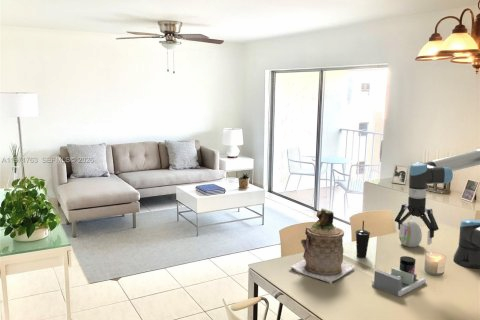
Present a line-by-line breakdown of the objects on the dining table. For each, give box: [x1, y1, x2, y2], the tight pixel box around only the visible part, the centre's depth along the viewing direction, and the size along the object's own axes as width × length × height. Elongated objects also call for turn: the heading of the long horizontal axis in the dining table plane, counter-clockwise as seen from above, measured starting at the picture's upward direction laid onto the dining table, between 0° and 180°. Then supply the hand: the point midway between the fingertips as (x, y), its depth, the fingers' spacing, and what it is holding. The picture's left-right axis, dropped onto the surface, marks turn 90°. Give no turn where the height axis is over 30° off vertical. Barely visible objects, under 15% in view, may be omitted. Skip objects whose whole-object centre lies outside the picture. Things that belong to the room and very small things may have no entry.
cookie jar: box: [289, 208, 356, 285], centre depth 202 cm, size 25×25×32 cm
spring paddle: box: [390, 267, 414, 285], centre depth 189 cm, size 5×10×5 cm, turn 39°
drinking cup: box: [355, 220, 371, 259], centre depth 221 cm, size 8×8×20 cm
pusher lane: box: [371, 269, 427, 298], centre depth 189 cm, size 22×14×7 cm, turn 129°
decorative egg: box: [398, 219, 423, 248], centre depth 239 cm, size 12×12×15 cm
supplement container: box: [398, 255, 416, 281], centre depth 192 cm, size 7×7×10 cm
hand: (415, 240), depth 194 cm, fingers open, 13 cm apart
